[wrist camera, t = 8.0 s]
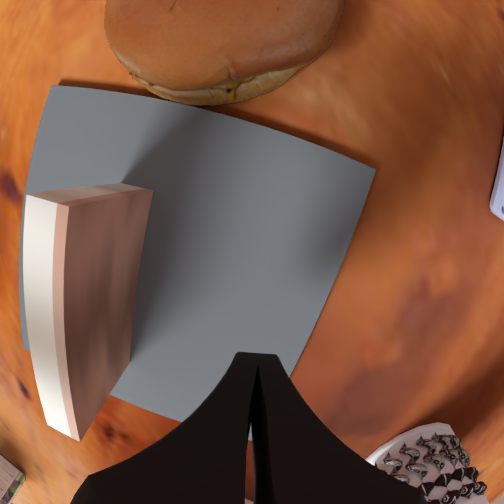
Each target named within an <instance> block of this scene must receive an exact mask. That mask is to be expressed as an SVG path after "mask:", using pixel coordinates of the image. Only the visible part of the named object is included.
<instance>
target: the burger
mask: <svg viewBox="0 0 504 504" xmlns="http://www.w3.org/2000/svg"><path fill="white" fill-rule="evenodd" d="M344 5H345V0H107V1H106V6H105V18H104V29H105V34H106V38H107V40H108V43H109V45H110V47H111V49H112V51H113V52H114V54H115V55H116V57H117V58H118V60H119V61H120V62H121V63H122V64H123V65H124V66H125V67H126V68H127V70H128V71H129V75H132V76H133V77H132V79H136V80H137V81H138V82H139V83H140V84H141V85H142V86H143V87H145V88H146V89H148V90H149V91H150V92H152V93H154V94H156V95H158V96H160V97H162V98H164V99H168V100H171V101H174V102H178V103H182V104H187V105H212V106H214V105H220V104H226V103H235V102H239V101H242V100H246V99H249V98H252V97H256V96H259V95H263V94H266V93H268V92H271V91H273V90H275V89H277V88H278V87H280V86H281V85H283V84H284V83H285V82H286V81H287V80H288V79H289V78H290V77H291V76H292V75H293V74H295V73H296V72H297V71H298V70H299V69H300V68H301V67H304V66H308V65H310V64H311V63H313V62H314V61H315V60H317V59H318V58H319V57H320V56H321V55H322V54H323V53H324V52H325V51H326V50H327V49H328V48H329V47H330V45H331V44H332V42H333V39H334V36H335V33H336V31H337V29H338V26H339V22H340V19H341V16H342V13H343V10H344Z"/></svg>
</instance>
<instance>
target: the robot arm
mask: <svg viewBox="0 0 504 504" xmlns="http://www.w3.org/2000/svg"><path fill="white" fill-rule="evenodd" d="M502 207H503V209H502ZM490 209H491V212H492V213H493V214H495V215H496V216H497V217H499V218H500V219H502V220H503V221H504V138H503V145H502V150H501V156H500V161H499V166H498V171H497V175H496V180H495V184H494V188H493V192H492V196H491V199H490ZM501 209H502V210H501ZM250 426H251V432H252V448H253V464H254V504H428V502H427V500H426V499H425V497H424V495H423V493H422V491H421V489H418V488H416V487H414V486H412V485H409V484H407V483H405V482H403V481H401V480H399V479H397V478H395V477H393V476H390V475H389V474H387V473H385V472H383V471H382V470H380V469H378V468H377V467H375V466H374V465H372V464H370V463H369V462H367V461H366V460H364V459H363V458H362V457H360V456H359V455H358V454H357V453H355V452H354V451H353V450H351V449H350V448H349V447H347V446H346V445H345V444H344V443H343V442H342V441H340V440H339V439H338V438H337V437H336V436H335V435H334V434H333V433H332V432H331V431H330V430H329V429H328V428H327V427H326V426H325V425H324V424H323V423H322V422H321V421H320V419H319V418H318V417H317V416H316V415H315V414H314V412H313V411H312V410H311V409H310V407H309V406H308V405H307V403H306V402H305V401H304V399H303V398H302V397H301V395H300V394H299V392H298V391H297V389H296V388H295V386H294V385H293V383H292V381H291V380H290V378H289V376H288V374H287V373H286V371H285V369H284V367H283V365H282V363H281V361H280V358H279V357H278V356H277V355H276V354H264V353H250V352H237V353H236V354H235V356H234V358H233V361H232V363H231V364H230V366H229V368H228V370H227V371H226V373H225V374H224V376H223V377H222V379H221V380H220V381H219V383H218V384H217V386H216V387H215V388H214V390H213V391H212V392H211V393H210V394H209V396H208V397H207V398H206V399H205V400H204V401H203V402H202V404H201V405H200V406H199V407H198V408H197V409H196V410H195V411H194V412H193V413H192V414H191V415H190V416H189V417H188V418H186V419H185V420H184V421H183V422H182V423H181V424H180V425H178V426H177V427H176V428H175V429H173V430H172V431H171V432H170V433H168V434H167V435H166V436H164V437H163V438H162V439H160V440H159V441H157V442H156V443H154V444H153V445H151V446H149V447H148V448H146V449H144V450H142V451H141V452H139V453H137V454H136V455H134V456H132V457H130V458H128V459H126V460H124V461H122V462H120V463H118V464H115V465H113V466H111V467H108V468H106V469H104V470H101V471H99V472H96V473H93V474H91V475H88V477H87V478H86V479H85V481H84V482H83V484H82V485H81V486H80V488H79V489H78V491H77V492H76V493H75V495H74V497H73V499H72V501H71V503H70V504H245V475H246V450H247V443H248V438H249V432H250Z"/></svg>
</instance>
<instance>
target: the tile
mask: <svg viewBox="0 0 504 504" xmlns="http://www.w3.org/2000/svg"><path fill="white" fill-rule="evenodd" d="M152 196H153V190H149V189H145V188H140V187H136V186H132V185H128V184H123V183H115V184H105V185H95V186H86V187H77V188H69V189H61V190H54V191H47V192H40V193H34V194H27V195H26V205H25V217H24V235H23V283H24V300H25V312H26V322H27V331H28V338H29V345H30V352H31V357H32V363H33V368H34V373H35V378H36V383H37V387H38V391H39V395H40V399H41V403H42V407H43V411H44V414H45V418H46V421H47V424H48V425H49V426H51V427H52V428H54V429H56V430H58V431H60V432H62V433H63V434H65V435H67V436H69V437H71V438H73V439H75V440H77V441H79V442H80V441H81V440H82V438H83V436H84V435H85V433H86V431H87V430H88V428H89V426H90V425H91V423H92V422H93V420H94V418H95V417H96V415H97V413H98V412H99V410H100V409H101V407H102V405H103V404H104V402H105V401H106V399H107V397H108V396H109V394H110V393H111V391H112V390H113V388H114V386H115V385H116V383H117V382H118V380H119V379H120V377H121V376H122V374H123V372H124V371H125V369H126V368H127V366H128V365H129V363H130V350H131V337H132V325H133V315H134V306H135V297H136V289H137V282H138V274H139V267H140V261H141V254H142V248H143V242H144V237H145V231H146V225H147V220H148V215H149V210H150V205H151V200H152Z"/></svg>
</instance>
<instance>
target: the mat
mask: <svg viewBox="0 0 504 504" xmlns="http://www.w3.org/2000/svg"><path fill="white" fill-rule="evenodd" d="M375 172H376V169H374V168H372V167H369V166H367V165H365V164H363V163H360V162H358V161H356V160H353V159H351V158H349V157H346V156H344V155H342V154H339V153H337V152H334V151H332V150H329V149H327V148H324V147H322V146H319V145H316V144H314V143H311V142H308V141H306V140H303V139H300V138H297V137H294V136H292V135H289V134H286V133H283V132H280V131H277V130H274V129H271V128H268V127H265V126H262V125H258V124H255V123H252V122H249V121H245V120H242V119H238V118H235V117H231V116H228V115H224V114H221V113H217V112H213V111H209V110H205V109H201V108H197V107H193V106H189V105H184V104H180V103H175V102H171V101H166V100H161V99H156V98H151V97H145V96H140V95H134V94H128V93H121V92H114V91H107V90H100V89H91V88H82V87H72V86H59V85H52V86H51V89H50V92H49V95H48V98H47V101H46V104H45V107H44V110H43V114H42V117H41V121H40V124H39V128H38V132H37V135H36V139H35V144H34V148H33V152H32V157H31V162H30V167H29V172H28V178H27V183H26V190H25V197H24V204H23V213H22V222H21V234H20V252H19V301H20V318H21V330H22V339H23V347H24V348H25V349H27V350H28V351H30V345H29V338H28V331H27V322H26V312H25V300H24V283H23V235H24V217H25V205H26V195H27V194H34V193H40V192H47V191H54V190H61V189H69V188H77V187H86V186H95V185H105V184H115V183H123V184H128V185H132V186H136V187H140V188H145V189H149V190H153V196H152V200H151V205H150V210H149V215H148V220H147V225H146V231H145V237H144V242H143V248H142V254H141V261H140V267H139V274H138V282H137V289H136V297H135V306H134V315H133V325H132V337H131V350H130V363H129V365H128V366H127V368H126V369H125V371H124V372H123V374H122V376H121V377H120V379H119V380H118V382H117V383H116V385H115V386H114V388H113V390H112V391H111V393H110V395H112V396H115V397H117V398H119V399H121V400H124V401H126V402H129V403H131V404H133V405H136V406H138V407H141V408H144V409H146V410H149V411H151V412H154V413H157V414H160V415H162V416H165V417H168V418H171V419H174V420H177V421H180V422H183V421H184V420H185V419H186V418H188V417H189V416H190V415H191V414H192V413H193V412H194V411H195V410H196V409H197V408H198V407H199V406H200V405H201V404H202V402H203V401H204V400H205V399H206V398H207V397H208V396H209V394H210V393H211V392H212V391H213V390H214V388H215V387H216V386H217V384H218V383H219V381H220V380H221V379H222V377H223V376H224V374H225V373H226V371H227V370H228V368H229V366H230V364H231V363H232V361H233V358H234V356H235V354H236V353H237V352H250V353H264V354H276V355H277V356H278V357H279V358H280V361H281V363H282V365H283V367H284V369H285V371H286V373H287V374H288V376H289V377H290V375H291V373H292V371H293V369H294V367H295V365H296V363H297V361H298V359H299V357H300V355H301V353H302V351H303V349H304V347H305V345H306V343H307V341H308V339H309V337H310V335H311V332H312V330H313V328H314V326H315V324H316V322H317V320H318V317H319V315H320V313H321V311H322V309H323V306H324V304H325V302H326V300H327V297H328V295H329V293H330V290H331V288H332V286H333V283H334V281H335V279H336V276H337V274H338V272H339V269H340V267H341V264H342V262H343V259H344V257H345V254H346V252H347V249H348V247H349V244H350V242H351V239H352V237H353V234H354V231H355V229H356V226H357V223H358V221H359V218H360V215H361V212H362V210H363V207H364V204H365V201H366V198H367V196H368V193H369V190H370V187H371V184H372V181H373V178H374V175H375ZM248 440H251V441H252V432H251V426H250V432H249V438H248Z"/></svg>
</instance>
